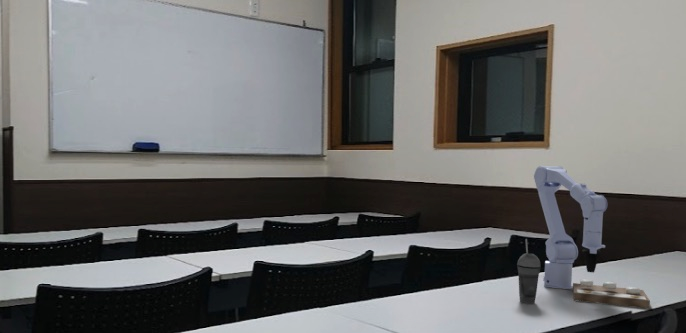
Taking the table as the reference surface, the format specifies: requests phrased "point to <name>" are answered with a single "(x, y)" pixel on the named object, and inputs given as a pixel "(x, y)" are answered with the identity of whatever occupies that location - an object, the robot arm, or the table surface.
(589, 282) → the button left
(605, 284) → the button middle
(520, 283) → the beverage cup
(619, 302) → the button board
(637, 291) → the button right
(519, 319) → the table surface
